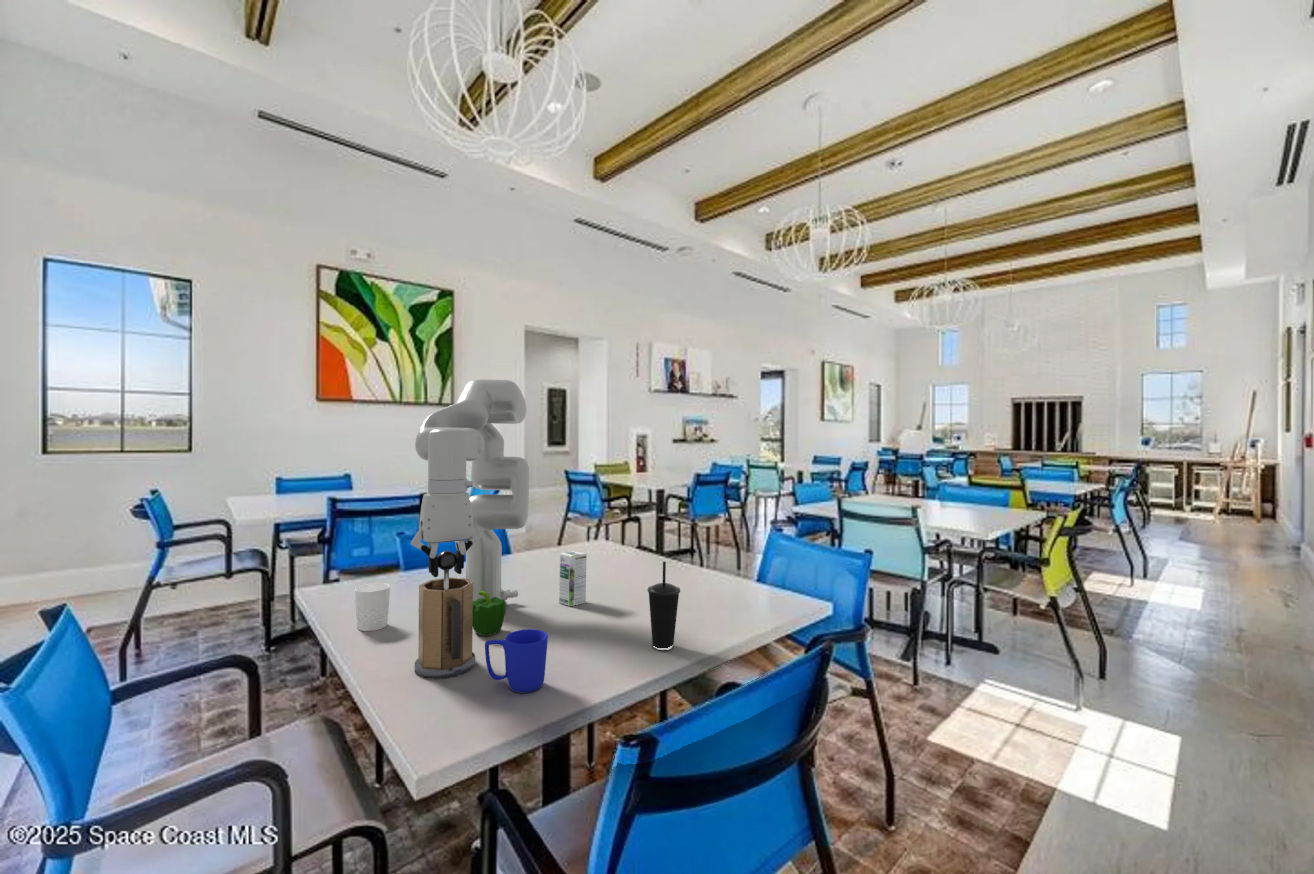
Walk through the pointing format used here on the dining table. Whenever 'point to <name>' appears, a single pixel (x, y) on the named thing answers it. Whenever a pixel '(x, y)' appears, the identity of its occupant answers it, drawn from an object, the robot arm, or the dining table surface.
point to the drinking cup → (663, 612)
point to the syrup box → (572, 578)
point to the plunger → (446, 565)
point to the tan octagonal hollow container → (445, 629)
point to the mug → (522, 659)
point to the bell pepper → (488, 614)
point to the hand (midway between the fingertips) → (446, 573)
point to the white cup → (372, 606)
